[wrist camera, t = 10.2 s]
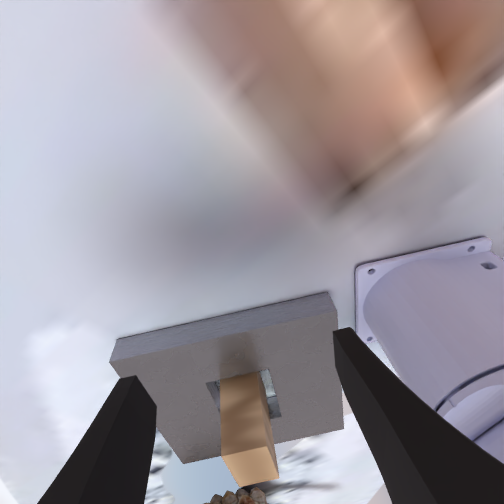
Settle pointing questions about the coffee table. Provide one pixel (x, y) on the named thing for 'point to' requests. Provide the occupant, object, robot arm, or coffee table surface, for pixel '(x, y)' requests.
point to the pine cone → (240, 497)
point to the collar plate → (239, 371)
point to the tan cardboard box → (247, 430)
